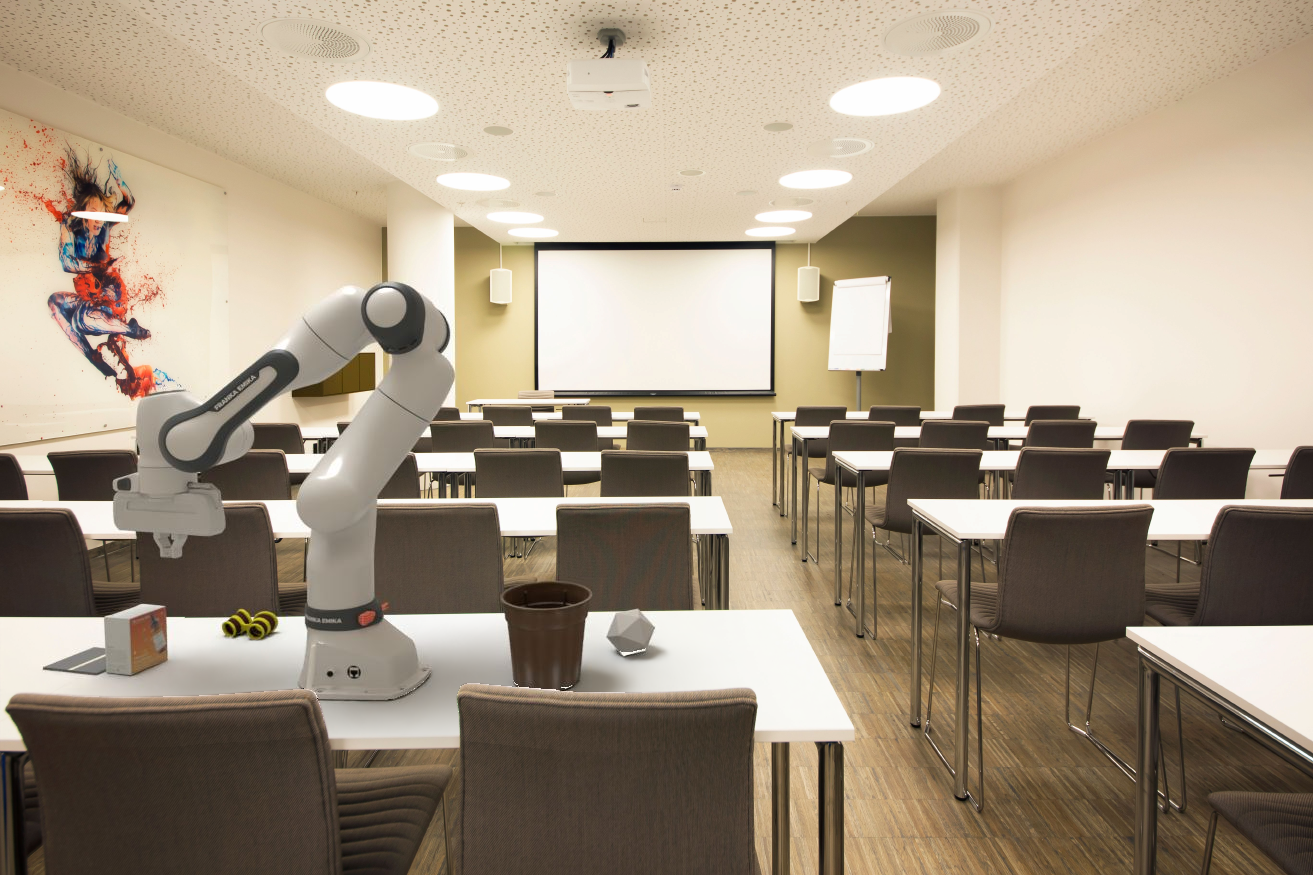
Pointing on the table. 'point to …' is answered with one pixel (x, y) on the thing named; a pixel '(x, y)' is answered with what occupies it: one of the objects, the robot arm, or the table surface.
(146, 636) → the small box
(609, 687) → the table surface
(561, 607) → the plant pot
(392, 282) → the robot arm
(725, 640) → the table surface
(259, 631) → the opera glasses
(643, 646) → the die
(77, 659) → the mat
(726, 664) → the table surface
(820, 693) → the table surface
